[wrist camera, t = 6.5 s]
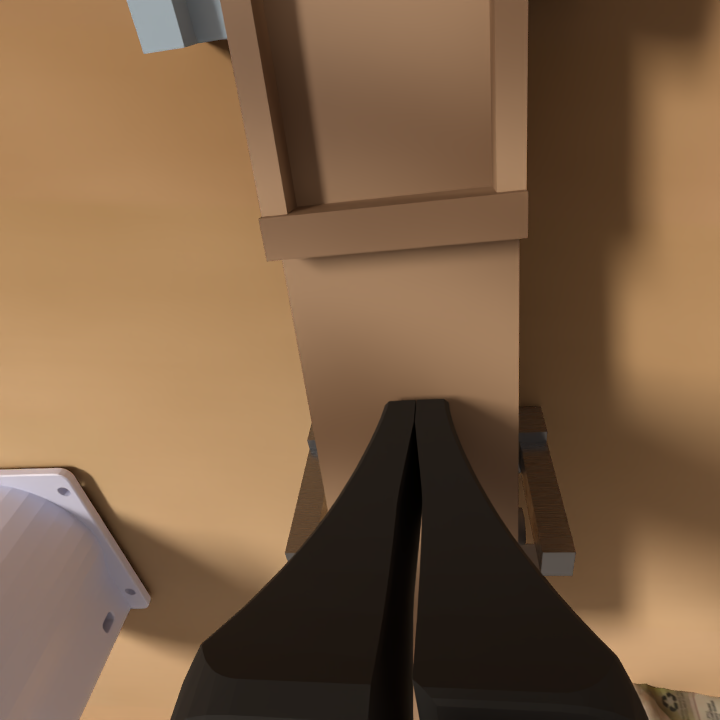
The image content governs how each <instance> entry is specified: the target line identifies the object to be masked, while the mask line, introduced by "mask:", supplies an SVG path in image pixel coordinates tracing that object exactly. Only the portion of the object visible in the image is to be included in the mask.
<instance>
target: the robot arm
mask: <svg viewBox="0 0 720 720" xmlns="http://www.w3.org/2000/svg"><path fill="white" fill-rule="evenodd" d="M421 520H422V529H421ZM420 530H421V553H420V574H419V591H418V608H417V623H416V636H415V650H414V663H413V611H414V593H415V582H416V572H417V562H418V551H419V541H420ZM150 601H151V597H150V595H149V594H148V592H147V590H146V589H145V587H144V586H143V584H142V583H141V581H140V579H139V578H138V576H137V575H136V573H135V571H134V570H133V568H132V567H131V565H130V563H129V562H128V560H127V559H126V557H125V556H124V554H123V552H122V551H121V549H120V548H119V546H118V544H117V543H116V541H115V540H114V538H113V536H112V535H111V533H110V532H109V530H108V529H107V527H106V525H105V524H104V522H103V521H102V519H101V517H100V516H99V514H98V513H97V511H96V510H95V508H94V506H93V505H92V503H91V502H90V500H89V498H88V497H87V495H86V494H85V492H84V490H83V489H82V487H81V486H80V484H79V483H78V481H77V479H76V478H75V476H74V475H73V474H72V473H71V472H70V471H68V470H66V469H63V468H38V469H4V470H0V720H79V719H80V717H81V715H82V713H83V711H84V709H85V706H86V704H87V702H88V700H89V698H90V696H91V693H92V691H93V689H94V687H95V685H96V683H97V680H98V678H99V676H100V674H101V672H102V669H103V667H104V665H105V663H106V661H107V659H108V656H109V654H110V652H111V650H112V648H113V646H114V643H115V641H116V639H117V637H118V635H119V633H120V630H121V628H122V626H123V624H124V622H125V619H126V617H127V615H128V613H129V611H130V609H144V608H146V607H148V605H149V603H150ZM413 686H414V692H415V697H416V703H417V709H418V714H419V720H649V719H648V716H647V714H646V711H645V709H644V706H643V704H642V702H641V700H640V698H639V696H638V694H637V692H636V690H635V688H634V686H633V684H632V682H631V680H630V678H629V676H628V674H627V673H626V671H625V669H624V667H623V665H622V664H621V662H620V660H619V658H618V657H617V655H616V654H615V653H614V652H613V651H612V650H611V649H610V648H609V647H608V646H607V645H606V644H605V643H604V642H603V641H602V640H601V639H600V638H599V637H598V636H597V635H596V634H595V633H594V632H593V631H592V630H591V629H590V628H589V627H588V626H587V625H586V624H585V623H584V622H583V621H582V620H581V618H580V617H579V616H578V615H577V614H576V613H575V612H574V611H573V610H572V609H571V607H570V606H569V605H568V604H567V603H566V602H565V601H564V600H563V598H562V597H561V596H560V595H559V594H558V593H557V592H556V591H555V589H554V588H553V587H552V586H551V584H550V583H549V582H548V581H547V579H546V578H545V577H544V576H543V574H542V573H541V572H540V571H539V570H538V568H537V567H536V566H535V565H534V563H533V562H532V561H531V560H530V558H529V557H528V556H527V555H526V553H525V552H524V551H523V549H522V548H521V546H520V545H519V544H518V542H517V541H516V539H515V538H514V537H513V535H512V534H511V532H510V531H509V529H508V528H507V526H506V525H505V523H504V522H503V520H502V519H501V517H500V516H499V514H498V513H497V511H496V510H495V508H494V506H493V505H492V503H491V501H490V500H489V498H488V496H487V494H486V493H485V491H484V489H483V487H482V486H481V484H480V482H479V480H478V478H477V476H476V475H475V473H474V471H473V469H472V467H471V464H470V462H469V460H468V458H467V456H466V454H465V452H464V450H463V447H462V445H461V443H460V440H459V438H458V435H457V432H456V430H455V427H454V424H453V420H452V417H451V413H450V408H449V402H448V401H446V400H445V399H424V400H417V402H416V400H400V401H389V402H388V403H387V404H386V405H385V406H384V409H383V412H382V415H381V418H380V420H379V422H378V425H377V427H376V429H375V432H374V434H373V436H372V438H371V440H370V442H369V444H368V446H367V448H366V450H365V452H364V454H363V455H362V457H361V459H360V461H359V463H358V465H357V467H356V468H355V470H354V472H353V474H352V475H351V477H350V478H349V480H348V482H347V483H346V485H345V486H344V488H343V490H342V491H341V493H340V495H339V496H338V498H337V499H336V501H335V502H334V504H333V505H332V507H331V508H330V509H329V511H328V512H327V514H326V515H325V517H324V518H323V519H322V521H321V522H320V523H319V525H318V526H317V527H316V529H315V530H314V531H313V532H312V534H311V535H310V536H309V537H308V539H307V540H306V541H305V542H304V543H303V545H302V546H301V547H300V548H299V549H298V551H297V552H296V553H295V554H294V555H293V557H292V558H291V559H290V560H289V561H288V562H287V563H286V564H285V566H284V567H283V568H282V569H281V570H280V571H279V572H278V573H277V574H276V575H275V576H274V577H273V578H272V579H271V580H270V581H269V582H268V583H267V584H266V585H265V586H264V587H263V588H262V589H261V590H260V591H259V592H258V593H257V594H256V595H255V596H254V597H253V599H252V600H250V601H249V602H248V603H247V604H246V605H245V606H244V607H243V608H242V609H241V610H240V611H239V612H237V613H236V614H235V615H234V616H233V617H232V618H231V619H229V620H228V621H227V622H226V623H225V624H224V625H223V626H222V627H220V628H219V629H218V630H217V631H216V632H215V633H214V634H212V635H211V636H210V637H209V638H208V639H207V640H205V641H204V642H203V643H202V644H201V645H200V648H199V650H198V652H197V654H196V656H195V658H194V660H193V662H192V664H191V666H190V669H189V671H188V673H187V675H186V677H185V679H184V682H183V684H182V687H181V690H180V693H179V696H178V699H177V702H176V705H175V708H174V711H173V714H172V716H171V719H170V720H413Z"/></svg>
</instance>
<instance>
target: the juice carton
mask: <svg viewBox="0 0 720 720" xmlns="http://www.w3.org/2000/svg"><path fill="white" fill-rule="evenodd" d="M632 684H633V686H634V688H635V690H636V692H637V694H638V696H639V698H640V700H641V702H642V704H643V706H644V709H645V711H646V714H647V716H648V719H649V720H720V697H712V696H707V695H702V694H698V693H693V692H685V691H674V690H669V689H665V688H655V687H651V686H649V685H647V684H634V683H632Z"/></svg>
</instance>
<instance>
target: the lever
mask: <svg viewBox="0 0 720 720" xmlns="http://www.w3.org/2000/svg"><path fill="white" fill-rule="evenodd" d="M220 3H221V9H222V14H223V19H224V24H225V29H226V35H227V40H228V45H229V50H230V55H231V60H232V66H233V71H234V76H235V81H236V86H237V92H238V97H239V102H240V107H241V112H242V118H243V123H244V128H245V133H246V138H247V144H248V149H249V154H250V159H251V164H252V169H253V175H254V180H255V185H256V190H257V195H258V201H259V206H260V211H261V216H262V217H261V218H259V224H260V229H261V234H262V239H263V244H264V249H265V254H266V259H267V261H277V260H282V262H283V268H284V273H285V279H286V284H287V290H288V295H289V301H290V306H291V311H292V317H293V322H294V328H295V333H296V339H297V344H298V350H299V355H300V361H301V366H302V372H303V377H304V382H305V388H306V393H307V399H308V404H309V410H310V415H311V421H312V426H313V432H314V437H315V443H316V448H317V453H318V459H319V464H320V470H321V475H322V481H323V486H324V492H325V497H326V503H327V508H328V511H329V509H330V508H331V507H332V505H333V504H334V502H335V501H336V499H337V498H338V496H339V495H340V493H341V491H342V490H343V488H344V486H345V485H346V483H347V482H348V480H349V478H350V477H351V475H352V474H353V472H354V470H355V468H356V467H357V465H358V463H359V461H360V459H361V457H362V455H363V454H364V452H365V450H366V448H367V446H368V444H369V442H370V440H371V438H372V436H373V434H374V432H375V429H376V427H377V425H378V422H379V420H380V418H381V415H382V412H383V409H384V406H385V405H386V404H387V403H388V402H389V401H400V400H416V402H417V400H424V399H445V400H446V401H448V402H449V408H450V413H451V417H452V420H453V424H454V427H455V430H456V432H457V435H458V438H459V440H460V443H461V445H462V447H463V450H464V452H465V454H466V456H467V458H468V460H469V462H470V464H471V467H472V469H473V471H474V473H475V475H476V476H477V478H478V480H479V482H480V484H481V486H482V487H483V489H484V491H485V493H486V494H487V496H488V498H489V500H490V501H491V503H492V505H493V506H494V508H495V510H496V511H497V513H498V514H499V516H500V517H501V519H502V520H503V522H504V523H505V525H506V526H507V528H508V529H509V531H510V532H511V534H512V535H513V537H514V538H515V539H516V541H517V542H518V544H519V545H520V546H521V548H522V549H523V551H524V552H525V553H526V555H527V556H528V557H529V558H530V560H531V561H532V562H533V563H534V565H535V566H536V567H537V568H538V570H539V571H540V569H539V564H538V559H537V554H536V549H535V544H525V543H526V531H525V521H524V514H523V510H522V508H518V453H519V239H522V238H528V190H526V184H527V77H528V0H220ZM421 529H422V520H421ZM420 553H421V530H420V541H419V551H418V562H417V572H416V582H415V593H414V611H413V663H414V650H415V636H416V623H417V608H418V591H419V574H420ZM413 720H419V714H418V709H417V703H416V697H415V692H414V686H413Z"/></svg>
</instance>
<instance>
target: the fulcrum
mask: <svg viewBox="0 0 720 720" xmlns="http://www.w3.org/2000/svg"><path fill="white" fill-rule="evenodd" d="M307 441H308V444H309V448H310V450H309V454H308V458H307V463H306V467H305V471H304V475H303V479H302V484H301V488H300V492H299V496H298V500H297V505H296V509H295V513H294V517H293V521H292V526H291V530H290V534H289V538H288V542H287V547H286V551H285V555H286V557H287V560H288V561H289V560H290V559H291V558H292V557H293V555H294V554H295V553H296V552H297V551H298V549H299V548H300V547H301V546H302V545H303V543H304V542H305V541H306V540H307V539H308V537H309V536H310V535H311V534H312V532H313V531H314V530H315V529H316V527H317V526H318V525H319V523H320V522H321V521H322V519H323V518H324V517H325V515H326V514H327V512H328V508H327V503H326V497H325V492H324V486H323V481H322V475H321V470H320V464H319V459H318V453H317V448H316V443H315V437H314V432H313V426H312V424H311V428H310V432H309V436H308V440H307ZM518 473H521V477H522V482H523V487H524V492H525V497H526V503H527V508H528V513H529V518H530V523H531V528H532V533H533V538H534V544H535V549H536V554H537V559H538V564H539V569H540V572H541V573H542V574H543V576H572V575H573V568H574V561H575V555H576V551H575V548H574V544H573V540H572V536H571V532H570V529H569V525H568V521H567V517H566V513H565V510H564V506H563V502H562V498H561V494H560V491H559V487H558V483H557V479H556V476H555V472H554V468H553V464H552V460H551V457H550V453H549V449H548V445H547V429H546V425H545V422H544V418H543V414H542V411H541V407H519V453H518Z"/></svg>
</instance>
